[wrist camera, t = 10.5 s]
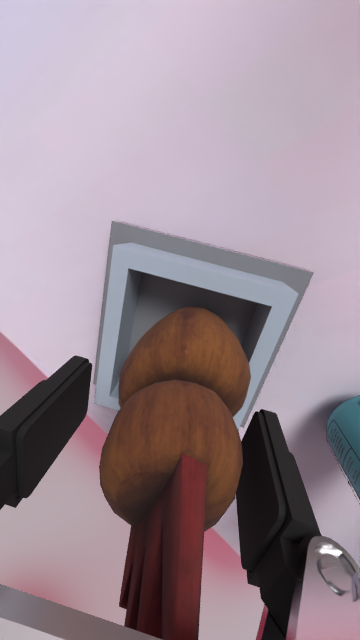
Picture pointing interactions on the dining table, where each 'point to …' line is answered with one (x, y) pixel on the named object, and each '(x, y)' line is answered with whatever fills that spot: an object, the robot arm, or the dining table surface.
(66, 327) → the dining table surface
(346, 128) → the dining table surface
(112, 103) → the dining table surface
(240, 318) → the figurine dock
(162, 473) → the wooden figurine
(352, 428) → the beverage bottle
